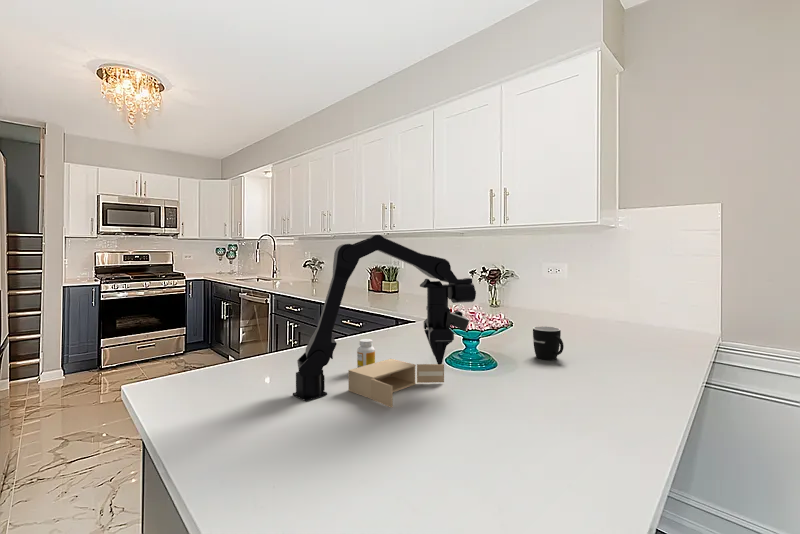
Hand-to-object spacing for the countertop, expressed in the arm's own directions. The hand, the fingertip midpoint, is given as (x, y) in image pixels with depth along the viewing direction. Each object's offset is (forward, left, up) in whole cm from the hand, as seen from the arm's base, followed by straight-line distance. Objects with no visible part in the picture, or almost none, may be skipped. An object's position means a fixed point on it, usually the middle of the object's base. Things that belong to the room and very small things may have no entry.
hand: (437, 359), depth 117 cm
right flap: (-1, +1, -6) cm, 7 cm away
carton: (-13, +9, -7) cm, 17 cm away
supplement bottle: (-6, +23, -7) cm, 25 cm away
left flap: (-22, 0, -6) cm, 23 cm away
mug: (+47, -12, -7) cm, 49 cm away
